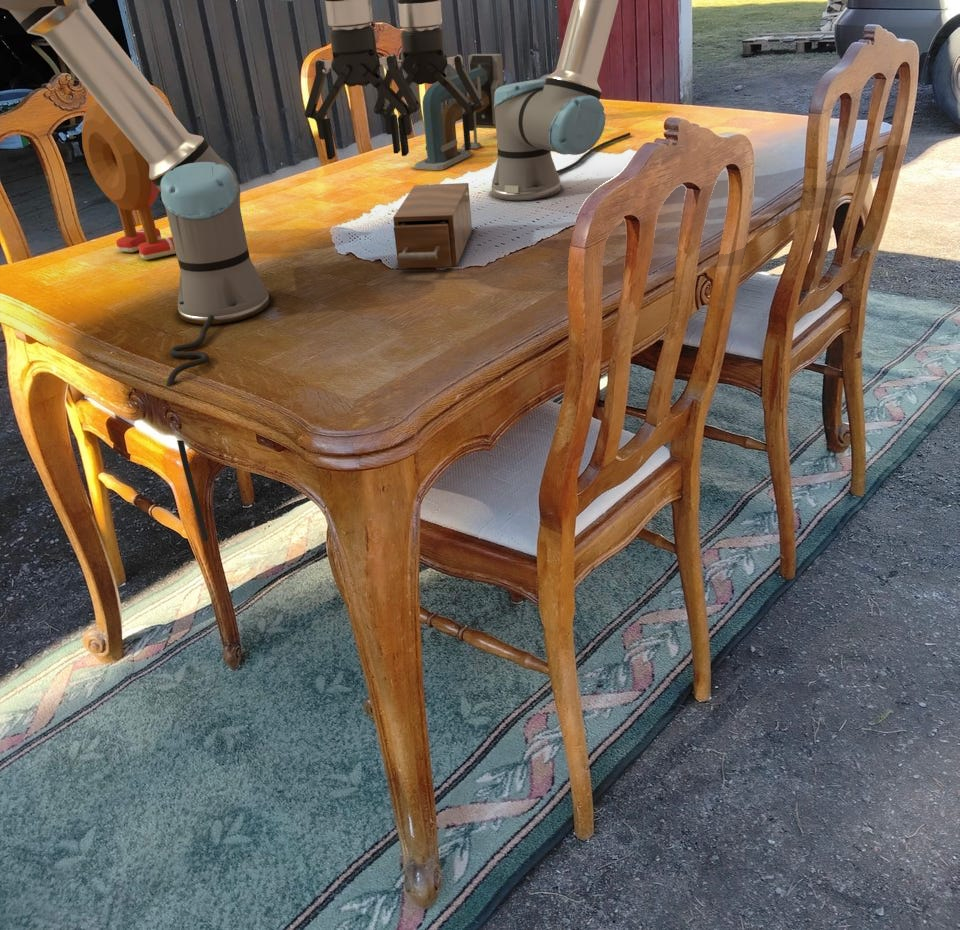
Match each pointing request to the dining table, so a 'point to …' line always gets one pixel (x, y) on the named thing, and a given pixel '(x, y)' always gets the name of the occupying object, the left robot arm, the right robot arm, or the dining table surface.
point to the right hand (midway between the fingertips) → (432, 150)
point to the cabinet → (440, 211)
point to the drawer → (423, 244)
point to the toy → (123, 182)
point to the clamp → (459, 112)
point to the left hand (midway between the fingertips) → (368, 156)
